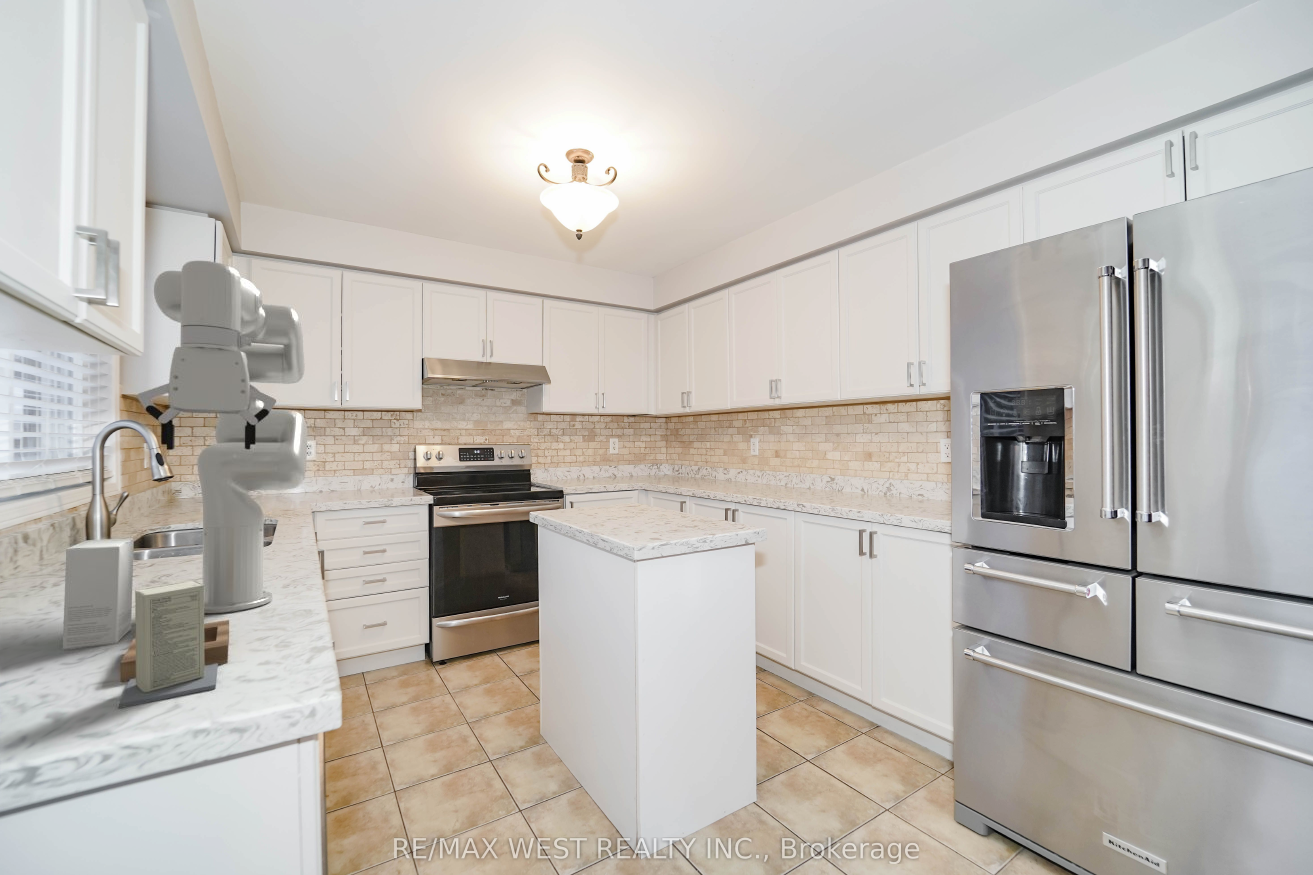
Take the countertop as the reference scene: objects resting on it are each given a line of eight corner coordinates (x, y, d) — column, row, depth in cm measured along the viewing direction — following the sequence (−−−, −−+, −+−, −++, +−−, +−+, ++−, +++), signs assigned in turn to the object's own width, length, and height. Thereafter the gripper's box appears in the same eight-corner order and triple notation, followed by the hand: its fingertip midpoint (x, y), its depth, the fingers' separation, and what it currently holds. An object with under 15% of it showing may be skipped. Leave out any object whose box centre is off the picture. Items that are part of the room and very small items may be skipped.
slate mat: (130, 682, 74) (130, 678, 74) (217, 666, 79) (217, 663, 79) (118, 707, 67) (118, 703, 67) (215, 688, 72) (215, 684, 72)
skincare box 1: (82, 635, 93) (83, 539, 93) (135, 628, 96) (136, 536, 97) (60, 651, 86) (62, 547, 86) (119, 643, 89) (120, 543, 89)
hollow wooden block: (136, 649, 86) (136, 633, 86) (229, 635, 93) (229, 619, 93) (120, 682, 74) (120, 662, 74) (227, 662, 81) (227, 644, 81)
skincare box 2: (194, 669, 77) (195, 579, 77) (205, 677, 74) (206, 584, 74) (132, 685, 72) (133, 588, 72) (141, 694, 69) (143, 594, 69)
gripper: (275, 350, 99) (274, 449, 98) (141, 339, 88) (140, 449, 88) (277, 344, 93) (276, 449, 92) (134, 331, 82) (133, 449, 82)
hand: (210, 449), depth 90 cm, fingers open, 9 cm apart
